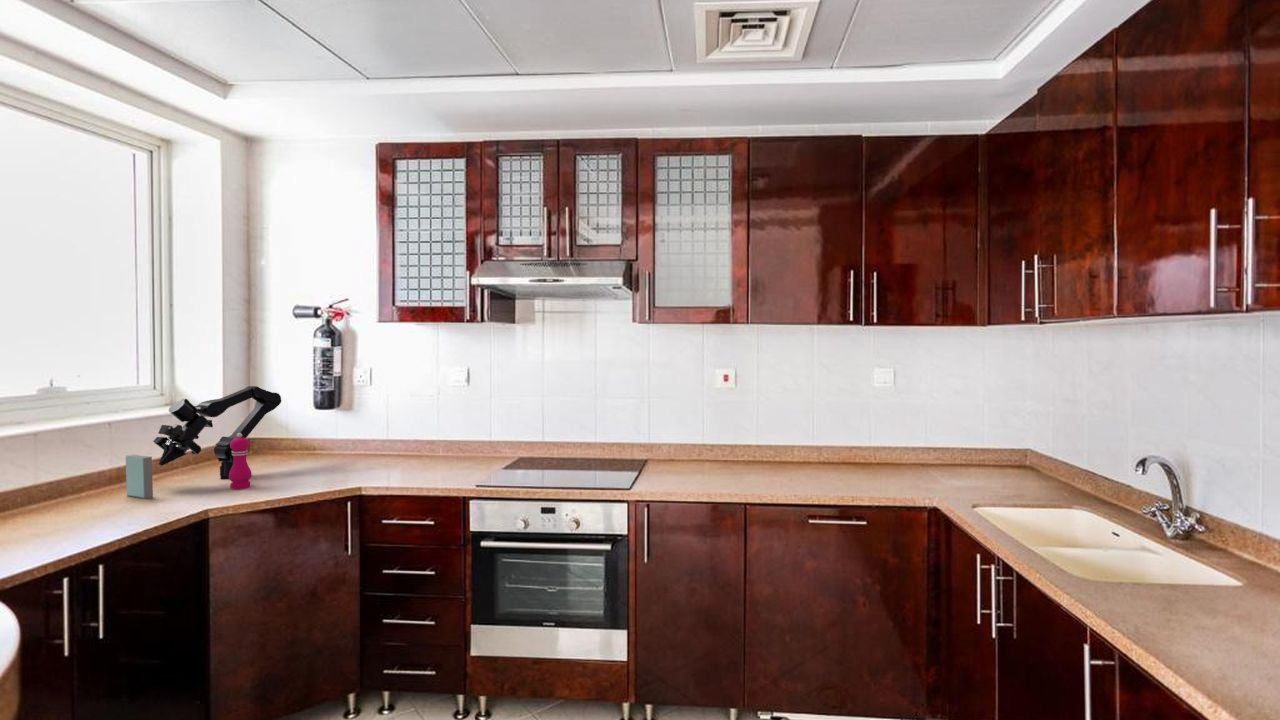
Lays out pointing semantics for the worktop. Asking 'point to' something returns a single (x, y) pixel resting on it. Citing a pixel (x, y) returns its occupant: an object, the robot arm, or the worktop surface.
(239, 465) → the pepper mill
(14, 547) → the worktop surface
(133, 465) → the tile
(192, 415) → the robot arm
